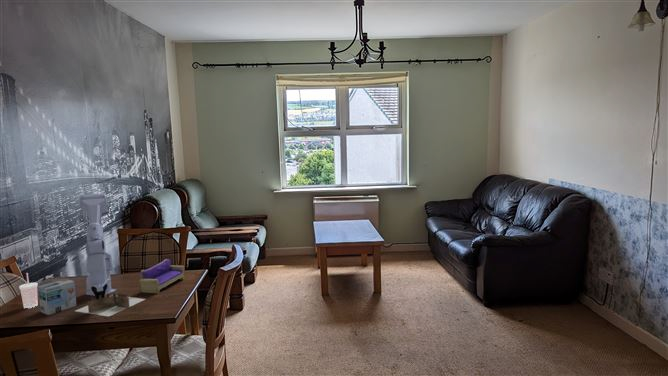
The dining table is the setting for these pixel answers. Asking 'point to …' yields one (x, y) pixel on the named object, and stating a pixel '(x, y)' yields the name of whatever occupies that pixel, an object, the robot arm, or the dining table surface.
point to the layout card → (110, 308)
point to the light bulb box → (57, 296)
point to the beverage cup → (29, 294)
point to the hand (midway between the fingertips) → (100, 303)
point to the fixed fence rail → (122, 300)
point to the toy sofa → (160, 276)
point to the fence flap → (102, 302)
